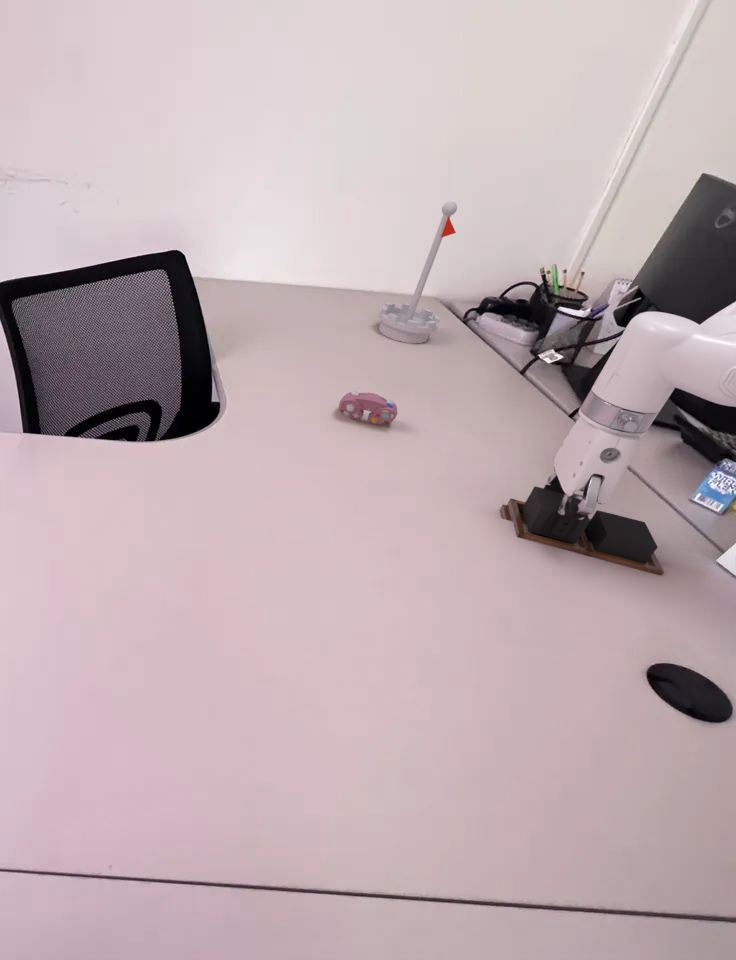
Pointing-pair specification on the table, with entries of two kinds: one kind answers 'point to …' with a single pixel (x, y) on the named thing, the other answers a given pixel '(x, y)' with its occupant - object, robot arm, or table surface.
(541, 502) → the black pad
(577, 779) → the table surface
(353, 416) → the video game controller
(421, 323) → the flag stand
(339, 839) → the table surface
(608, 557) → the brown wooden frame
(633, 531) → the black pad
